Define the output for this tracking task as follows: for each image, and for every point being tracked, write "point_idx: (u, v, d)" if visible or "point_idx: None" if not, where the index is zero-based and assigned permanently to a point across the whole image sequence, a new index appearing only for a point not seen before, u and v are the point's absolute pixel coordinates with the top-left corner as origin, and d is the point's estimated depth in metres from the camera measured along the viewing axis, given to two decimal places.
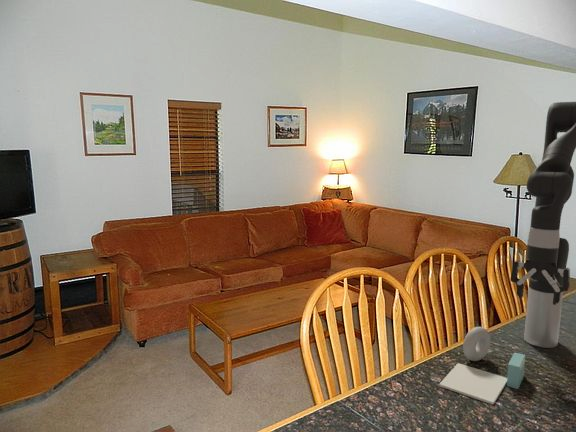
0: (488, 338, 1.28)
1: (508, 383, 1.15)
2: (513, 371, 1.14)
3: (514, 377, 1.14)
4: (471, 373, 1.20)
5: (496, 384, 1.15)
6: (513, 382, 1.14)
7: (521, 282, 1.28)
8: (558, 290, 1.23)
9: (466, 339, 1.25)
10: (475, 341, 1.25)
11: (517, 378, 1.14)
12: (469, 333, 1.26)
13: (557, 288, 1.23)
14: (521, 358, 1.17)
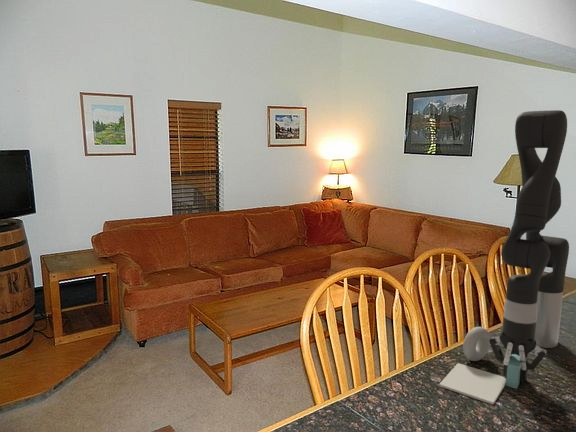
0: (488, 338, 1.28)
1: (507, 382, 1.15)
2: (512, 371, 1.14)
3: (513, 377, 1.14)
4: (471, 373, 1.20)
5: (496, 384, 1.15)
6: (512, 382, 1.14)
7: None
8: (524, 368, 1.15)
9: (466, 339, 1.25)
10: (475, 341, 1.25)
11: (516, 378, 1.14)
12: (469, 333, 1.26)
13: (524, 366, 1.15)
14: None
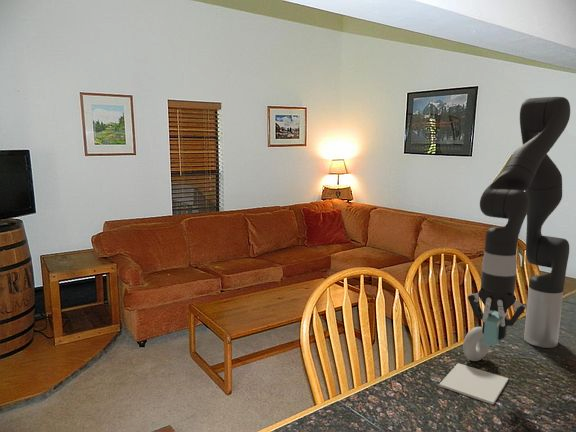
0: None
1: (484, 340, 1.10)
2: (490, 327, 1.09)
3: (491, 334, 1.09)
4: (471, 373, 1.20)
5: (496, 384, 1.15)
6: (489, 339, 1.09)
7: None
8: (503, 324, 1.10)
9: (466, 339, 1.25)
10: (475, 341, 1.25)
11: (494, 335, 1.09)
12: (469, 333, 1.26)
13: (503, 322, 1.10)
14: None
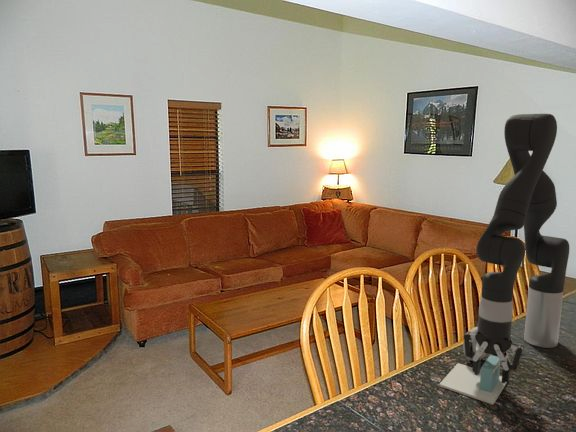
0: None
1: (481, 386, 1.12)
2: (486, 374, 1.11)
3: (487, 380, 1.11)
4: (471, 373, 1.20)
5: (496, 384, 1.15)
6: (486, 385, 1.12)
7: (477, 358, 1.15)
8: (507, 368, 1.11)
9: None
10: (475, 341, 1.25)
11: (490, 381, 1.11)
12: None
13: (506, 366, 1.11)
14: (496, 361, 1.14)
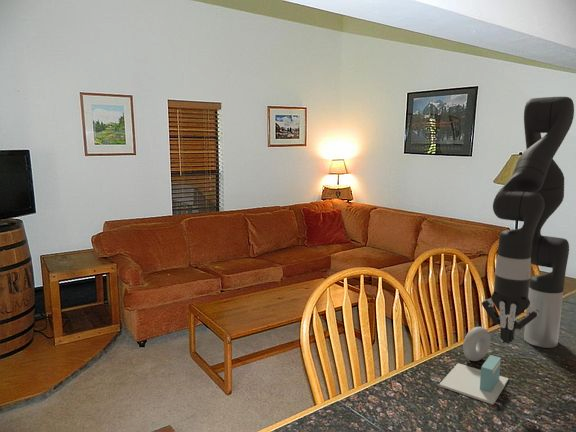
0: (488, 338, 1.28)
1: (481, 386, 1.12)
2: (486, 374, 1.11)
3: (487, 380, 1.11)
4: (471, 373, 1.20)
5: (496, 384, 1.15)
6: (486, 385, 1.12)
7: (505, 324, 1.10)
8: (511, 328, 1.09)
9: (466, 339, 1.25)
10: (475, 341, 1.25)
11: (490, 381, 1.11)
12: (469, 333, 1.26)
13: (511, 326, 1.09)
14: (496, 361, 1.14)
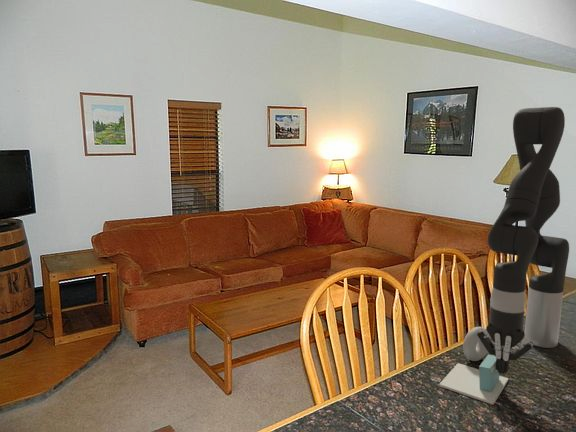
0: None
1: (480, 386, 1.12)
2: (484, 373, 1.11)
3: (486, 379, 1.11)
4: (471, 373, 1.20)
5: (496, 384, 1.15)
6: (485, 385, 1.12)
7: (500, 355, 1.11)
8: (506, 359, 1.10)
9: (466, 339, 1.25)
10: (475, 341, 1.25)
11: (489, 380, 1.11)
12: (469, 333, 1.26)
13: (506, 357, 1.10)
14: (494, 360, 1.15)
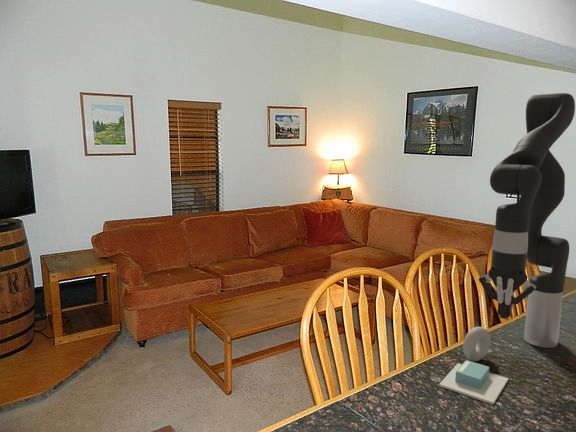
0: (488, 338, 1.28)
1: (476, 386, 1.13)
2: (461, 378, 1.15)
3: (468, 379, 1.14)
4: None
5: (496, 384, 1.15)
6: (473, 381, 1.13)
7: (502, 300, 1.09)
8: (508, 303, 1.08)
9: (466, 339, 1.25)
10: (475, 341, 1.25)
11: (468, 376, 1.14)
12: (469, 333, 1.26)
13: (509, 301, 1.08)
14: None
